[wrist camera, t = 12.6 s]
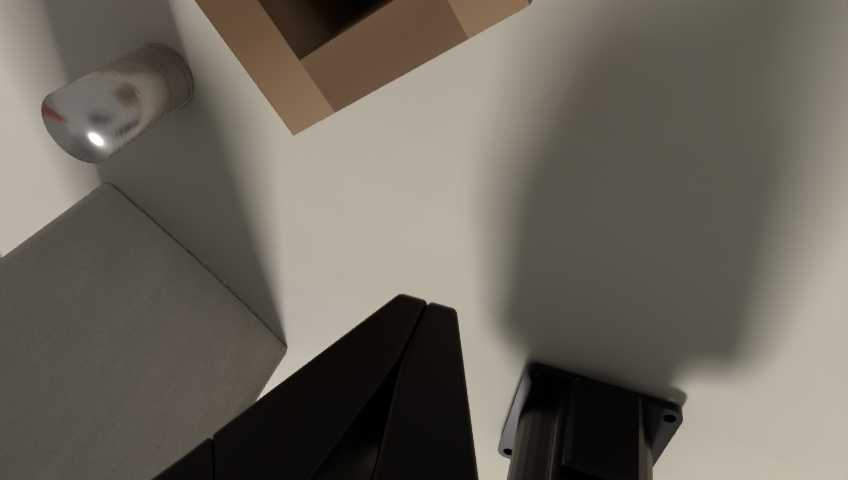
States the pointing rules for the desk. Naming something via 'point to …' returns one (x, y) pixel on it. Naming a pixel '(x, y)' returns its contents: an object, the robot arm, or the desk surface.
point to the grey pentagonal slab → (118, 348)
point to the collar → (342, 45)
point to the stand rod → (117, 102)
